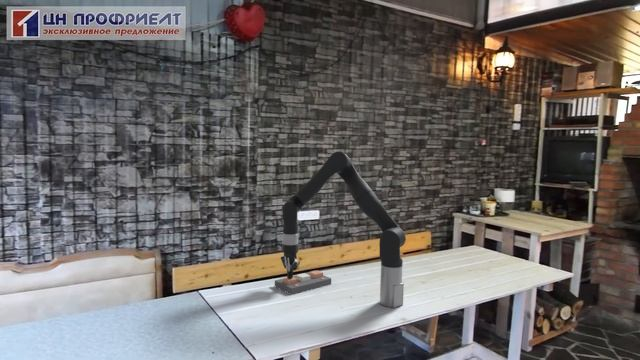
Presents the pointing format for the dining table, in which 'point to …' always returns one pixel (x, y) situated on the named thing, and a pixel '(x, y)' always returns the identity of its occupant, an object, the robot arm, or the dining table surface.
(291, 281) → the key left
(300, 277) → the key middle
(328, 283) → the keypad
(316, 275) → the key right
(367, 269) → the dining table surface
